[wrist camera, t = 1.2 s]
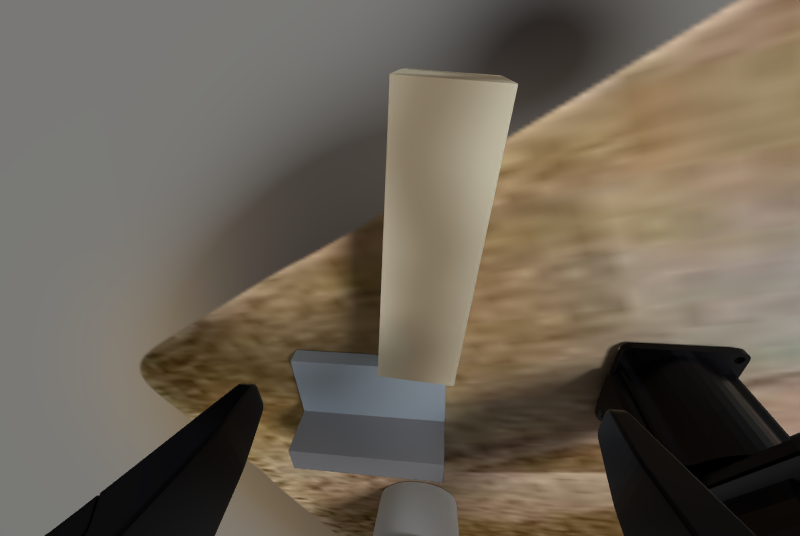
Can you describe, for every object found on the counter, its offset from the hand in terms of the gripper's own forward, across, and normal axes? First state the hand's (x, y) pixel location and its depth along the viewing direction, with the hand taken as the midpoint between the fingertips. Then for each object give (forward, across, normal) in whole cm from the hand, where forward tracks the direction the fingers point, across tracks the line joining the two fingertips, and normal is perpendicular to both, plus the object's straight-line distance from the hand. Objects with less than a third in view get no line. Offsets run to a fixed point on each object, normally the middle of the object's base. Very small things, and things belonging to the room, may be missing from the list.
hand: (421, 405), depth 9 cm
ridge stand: (+10, +4, +15) cm, 19 cm away
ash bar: (+11, 0, 0) cm, 11 cm away
